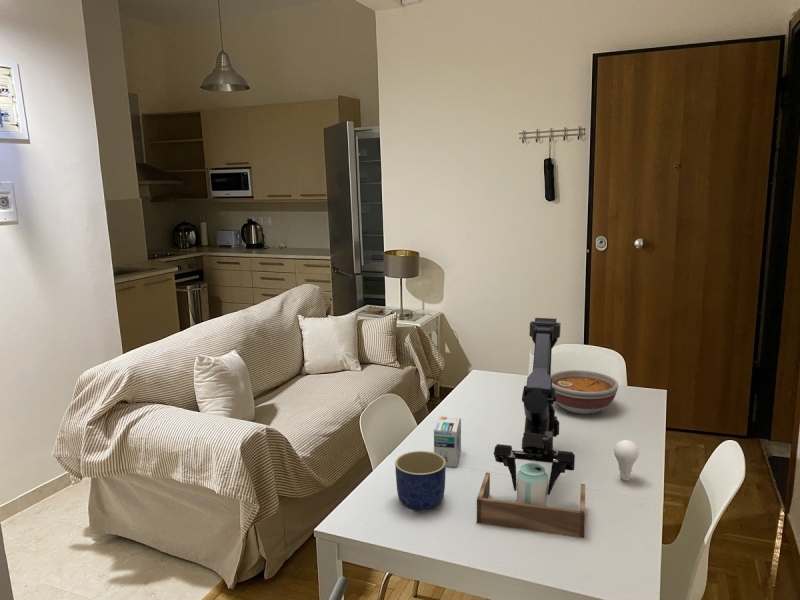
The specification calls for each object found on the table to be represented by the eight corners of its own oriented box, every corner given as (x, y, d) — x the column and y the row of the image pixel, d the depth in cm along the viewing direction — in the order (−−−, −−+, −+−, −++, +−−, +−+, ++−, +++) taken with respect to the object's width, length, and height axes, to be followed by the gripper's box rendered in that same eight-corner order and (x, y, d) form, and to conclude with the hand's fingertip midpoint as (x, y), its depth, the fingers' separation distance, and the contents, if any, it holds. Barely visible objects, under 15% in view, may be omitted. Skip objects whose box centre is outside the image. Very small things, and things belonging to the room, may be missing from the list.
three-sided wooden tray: (485, 494, 156) (485, 472, 155) (584, 506, 149) (585, 484, 148) (476, 522, 143) (476, 499, 142) (583, 538, 136) (584, 513, 135)
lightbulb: (636, 476, 163) (639, 437, 161) (637, 487, 158) (639, 447, 155) (612, 473, 165) (614, 434, 163) (612, 483, 160) (614, 444, 157)
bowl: (537, 413, 207) (538, 385, 205) (558, 392, 226) (559, 366, 224) (607, 426, 195) (609, 396, 193) (623, 403, 214) (625, 375, 212)
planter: (386, 500, 154) (385, 460, 152) (424, 484, 161) (423, 446, 159) (417, 522, 144) (416, 479, 142) (456, 504, 152) (456, 463, 149)
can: (522, 504, 151) (523, 459, 148) (550, 512, 147) (551, 465, 145) (512, 518, 145) (512, 471, 142) (541, 526, 141) (542, 478, 139)
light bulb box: (457, 468, 170) (457, 431, 168) (433, 466, 171) (433, 430, 169) (461, 451, 180) (461, 416, 178) (438, 449, 182) (438, 415, 179)
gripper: (495, 413, 148) (488, 477, 139) (576, 420, 142) (573, 487, 134) (499, 430, 157) (492, 491, 148) (575, 438, 151) (572, 501, 143)
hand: (531, 492), depth 143 cm, fingers open, 7 cm apart
